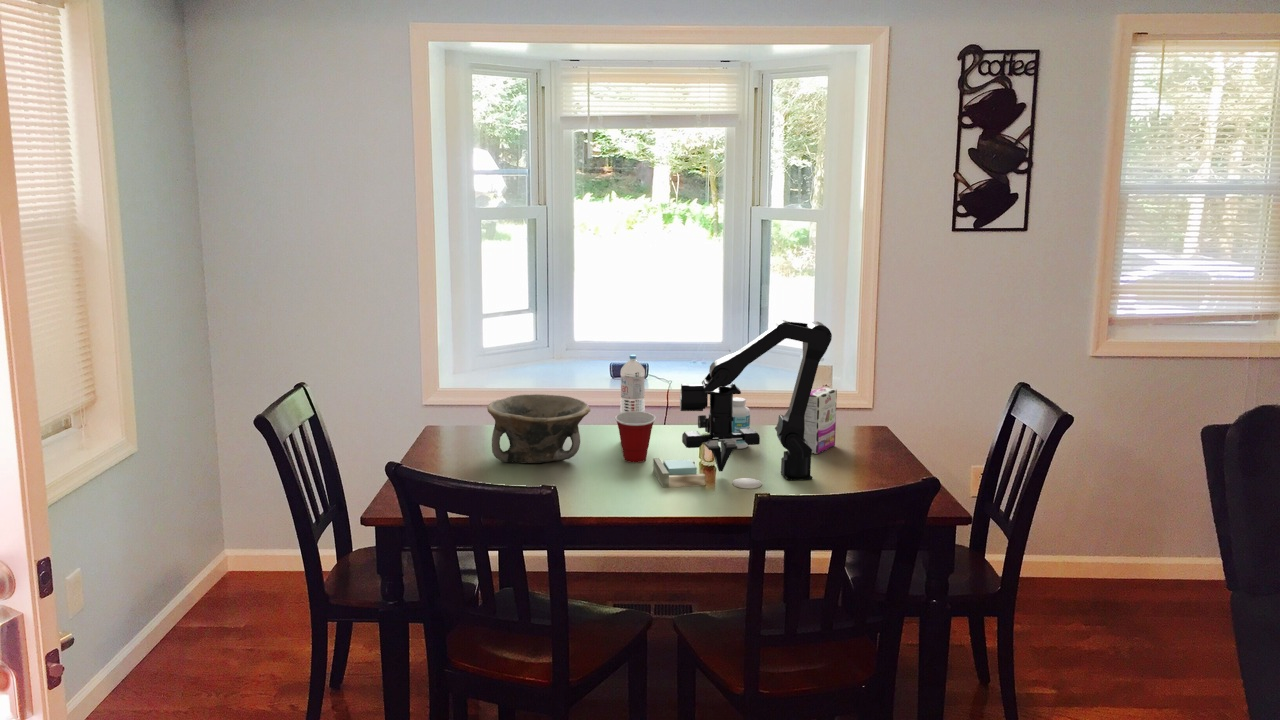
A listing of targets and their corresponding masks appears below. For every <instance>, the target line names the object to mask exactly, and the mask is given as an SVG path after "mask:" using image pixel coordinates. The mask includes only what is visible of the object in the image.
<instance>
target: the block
mask: <svg viewBox="0 0 1280 720" xmlns="http://www.w3.org/2000/svg"><path fill="white" fill-rule="evenodd" d="M691 460H692V459H689V458H688V459H669V460H667V459H666V460H663V461H664V466H665V468H666V469H667V471H668V472H669V475H686V474H698V473H697V472H698V471H697V470H698V468H697V466H696V464H695V465H694V463H693V462H692V461H691Z"/></svg>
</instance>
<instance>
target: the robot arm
mask: <svg viewBox="0 0 1280 720" xmlns="http://www.w3.org/2000/svg"><path fill="white" fill-rule="evenodd" d="M832 338H833V335H832V331H831V330H830V329H829V328H828V327H827V326H826V325H825V324H824V323H822V322H820V321H816V320H815V321H811V322H809V323H806V322H805V323H804V322H796V321H787V320H785V319H784V320H783V319H781V320H779V321H777V322H776V323H775V324H774V325H773V326H772V327H770V328H768V329H767V330H766V331H765V332H764V331H763V333H762V334H760V335H758V337H756V338H754V339H753V340H751V341H750V342H749V343H747V344H746V345H744V346H743V347H742V348H740V349H739V350H737V351H735V352H733V353H729V354H726V355H724V356H722V357H720V358H718V359H716V360H714V361H712V363H711V364H710V365H709V372H708V374H707V375H706V376H705V377H704V379H703V380H702V381H701V384H699V383H698V384H695V383H693V384H690V383H681V385H680V387H681V388H680V394H679V409H680V411H679V412H703V411H704V410H705V409H706V408H708V404H709V412H708V417H707V415H705V414H703V415H702V414H701V415H697V428H698V429H704V432H705V433H707V434H701V433H700V432H699V431H698V430H696V431H695V430H694V431H692V430H691V431H684V432H683V433H682V436H681V442H682V443H683V445H684V446H685V448H688V449H695V448H700V447H701V446H702V445H703V443H704V446H705V447H706V448H707V450H709V451H710V452H711V453H712V455H713V458H714V460H715V461H714V462H715V465H716V467H717V471H718V472H723V471H724V469H725V466H726V464H727V462H728V460H729V458H730V456H731V455H732V454H733V451H734V450H738V449H737V446H736V441H744V440H745V442H746V443H747V444H748V446H754V445H760V443H761V439H760V438H761V437H760V433H758V432H757V431H756V430H755V429H754V428H750V429H740V430H739V433H732V424H733V397H734V395H741V394H742V391H741V390H740V388H739V387H737V385H736V383H735V382H734V381H735V380H736V379H737V378H738V377H739V376H740V375H741V374H742V373H743V371H744V370H745V369H746V368H747V366H748V365H750V364H751V363H753V362H754V361H755V360H757V359H758V358H761V356H763V355H765V354H766V353H768V351H770V350H772V349H773V348H774V347H776V346H777V345H778V344H779V343H781V342H783V341H784V340H785V339H788V340H793V341H798V342H801V343H802V358H801V362H800V365H799V369H798V373H797V377H796V380H795V384H794V388H793V392H792V396H791V399H790V402H789V406H788V409H787V410H786V413H784V415H783V414H780V413H779V414H778V421H777V425H776V426H775V427H774V429H775V431H776V437H777V438H778V440H779V442H780V444H781V446H782V447H783V448H784V449H785V451H783V457H781V460H780V461H781V463H780V464H781V465H780V474H781V475H782V476H783V477H784V476H785V477H786V478H787V479H789V480H788V481H794V480H793V479H806V480H813V479H812V478H814V477H813V476H812V474H811V472H812V471H811V469H812V467H811V466H812V449H811V447H810V446H809V444H808V443H807V441H806V440H805V439H804V431H805V412H806V408H807V405H808V401H809V397H810V394H811V392H812V391H813V386H814V383H815V379H816V376H817V375H816V374H817V370H818V367H819V364H820V361H821V360H822V359H823V357H824V355H826V353H827V351H828V348H829V346H830V344H831V342H832ZM708 395H709V399H708ZM708 401H709V403H708ZM719 443H720V445H719ZM785 477H784V478H785ZM786 478H785V479H786ZM787 479H786V480H787ZM791 479H792V480H791Z"/></svg>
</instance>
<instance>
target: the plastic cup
mask: <svg viewBox="0 0 1280 720" xmlns="http://www.w3.org/2000/svg"><path fill="white" fill-rule="evenodd" d="M656 418H657V417H656V415H655V414H652V413H650V412H647V411H645V412H642V411H628V412H623V413H621V412H620V413H618V414H616V415H615V417H614V419H615V421H616V423H617V424H616V425H617V428H618V434H619V437H620V438H619V439H620V445H621V449H622V455H623V458H624V459H623V460H624V461H625V462H628V463H634V464H635V463H644V462H645V461H646V459H647V456H648V452H649V451H648V449H649V447H650V440H651V434H652V430H653V425H654V423H655V421H656Z"/></svg>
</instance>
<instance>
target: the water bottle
mask: <svg viewBox="0 0 1280 720" xmlns="http://www.w3.org/2000/svg"><path fill="white" fill-rule="evenodd" d="M628 359H629V360H628V361H627V362H626V363H624V364H623V366H622V367H621V369H620V402H619V403H620V413H623V412H628V411H642V412H646V411H645V400H646V399H645V376H646V370H645V368H644V366H643V364H641V363H640V362H639V361H637V360H636V359H637V355H636V354H629V358H628Z"/></svg>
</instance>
